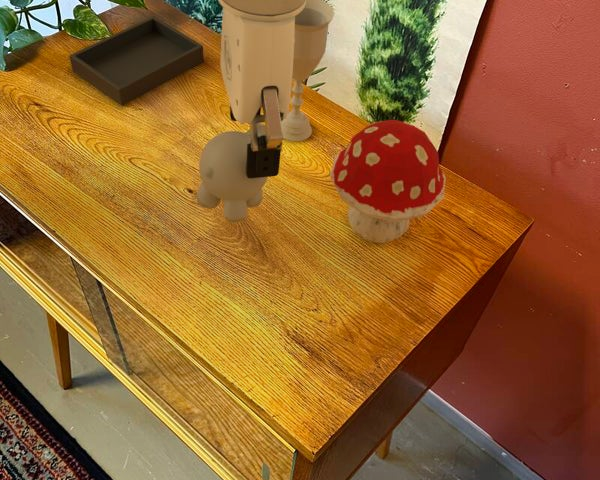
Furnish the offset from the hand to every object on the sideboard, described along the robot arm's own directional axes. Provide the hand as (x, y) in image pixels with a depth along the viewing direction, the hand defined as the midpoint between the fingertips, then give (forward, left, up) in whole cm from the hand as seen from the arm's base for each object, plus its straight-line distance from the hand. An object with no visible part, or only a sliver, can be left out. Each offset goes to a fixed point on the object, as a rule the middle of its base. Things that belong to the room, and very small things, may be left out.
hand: (253, 145), depth 69 cm
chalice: (+11, +21, -16) cm, 28 cm away
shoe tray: (-9, +39, -16) cm, 43 cm away
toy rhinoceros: (-1, +1, -7) cm, 7 cm away
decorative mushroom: (+17, +1, -16) cm, 23 cm away
